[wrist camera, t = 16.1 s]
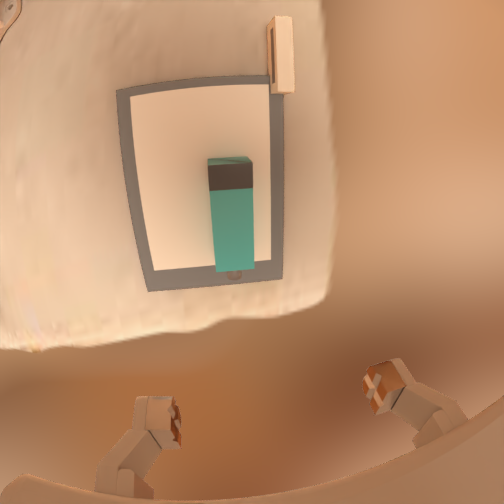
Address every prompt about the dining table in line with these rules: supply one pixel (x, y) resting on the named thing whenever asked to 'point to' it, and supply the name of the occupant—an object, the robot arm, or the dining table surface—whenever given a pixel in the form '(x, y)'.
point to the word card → (280, 55)
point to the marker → (232, 214)
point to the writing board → (200, 173)
